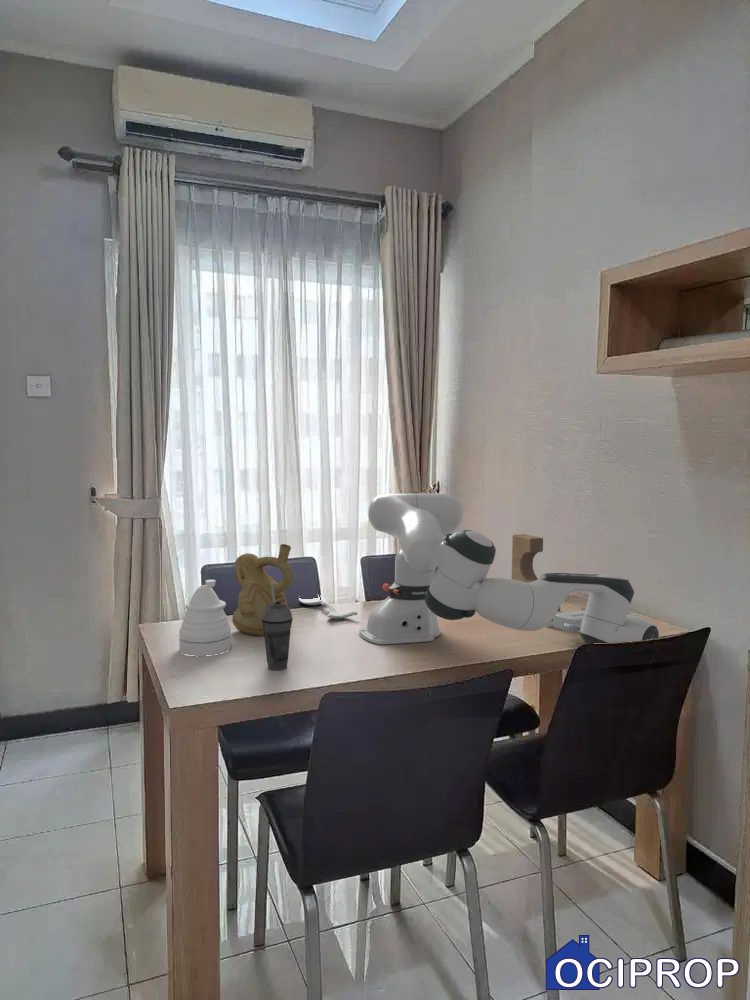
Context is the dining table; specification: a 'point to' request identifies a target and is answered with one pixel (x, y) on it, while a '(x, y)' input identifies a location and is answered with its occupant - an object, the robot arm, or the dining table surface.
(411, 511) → the robot arm
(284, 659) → the beverage cup
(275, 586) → the ceramic vessel
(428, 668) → the dining table surface
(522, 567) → the decorative block
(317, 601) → the white slender handled part
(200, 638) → the honey pot
